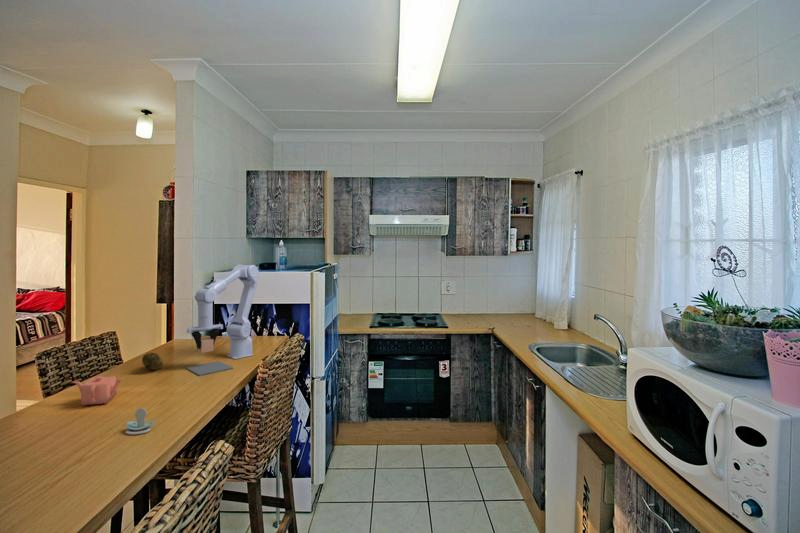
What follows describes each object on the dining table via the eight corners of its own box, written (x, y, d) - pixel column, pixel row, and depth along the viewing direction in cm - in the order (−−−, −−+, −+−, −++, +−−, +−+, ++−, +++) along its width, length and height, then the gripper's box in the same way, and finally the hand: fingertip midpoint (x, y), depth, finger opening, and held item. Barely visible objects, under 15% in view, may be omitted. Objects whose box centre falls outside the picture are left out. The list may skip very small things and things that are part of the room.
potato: (170, 365, 179) (170, 347, 179) (156, 374, 166) (156, 355, 166) (150, 365, 178) (150, 347, 178) (134, 374, 165) (134, 355, 165)
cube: (208, 348, 181) (208, 337, 181) (213, 350, 178) (213, 339, 178) (197, 350, 178) (197, 339, 178) (201, 352, 174) (201, 341, 174)
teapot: (118, 406, 134) (118, 381, 134) (64, 410, 130) (63, 384, 129) (130, 393, 146) (130, 370, 145) (81, 396, 141) (80, 373, 141)
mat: (218, 362, 185) (218, 360, 185) (233, 368, 176) (233, 367, 175) (185, 368, 174) (185, 367, 174) (199, 376, 165) (199, 374, 165)
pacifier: (148, 435, 115) (157, 425, 120) (147, 414, 114) (157, 405, 120) (120, 437, 114) (131, 426, 119) (119, 415, 113) (130, 406, 119)
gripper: (218, 313, 185) (218, 343, 186) (184, 317, 174) (184, 348, 175) (225, 315, 180) (225, 345, 181) (190, 319, 170) (190, 351, 170)
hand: (205, 347), depth 178 cm, fingers closed on cube, 5 cm apart
